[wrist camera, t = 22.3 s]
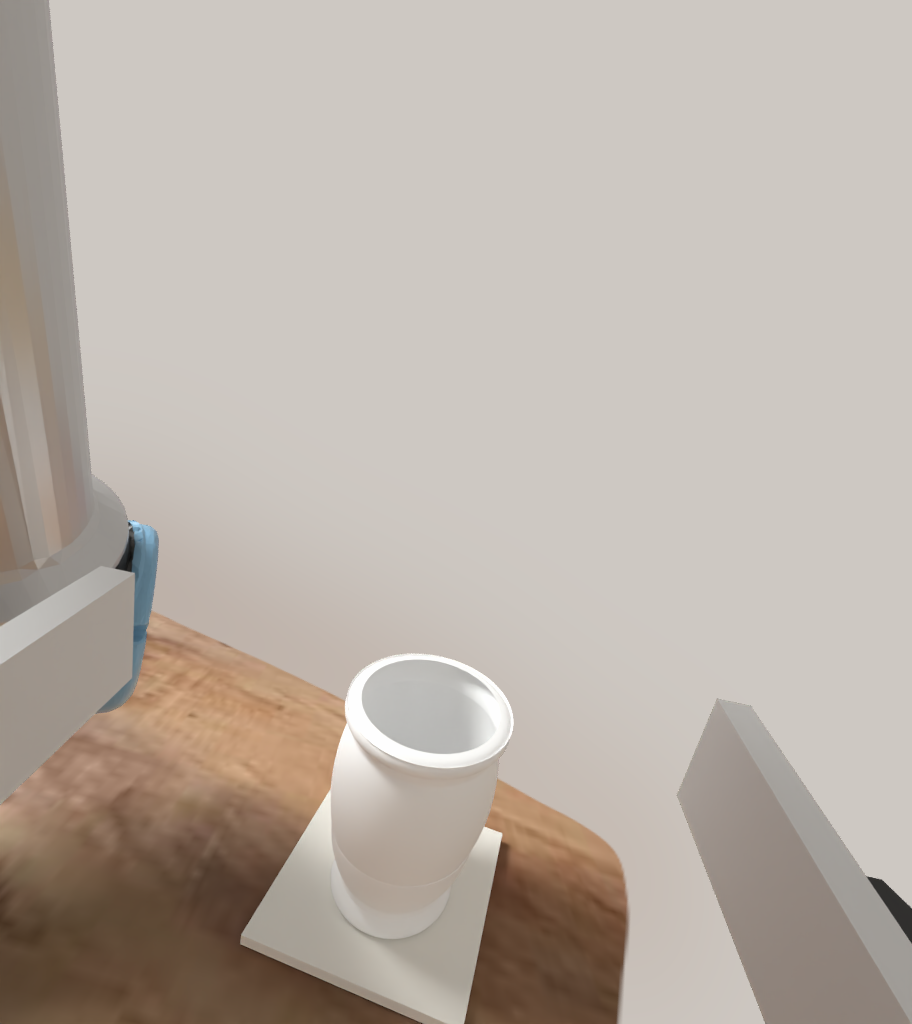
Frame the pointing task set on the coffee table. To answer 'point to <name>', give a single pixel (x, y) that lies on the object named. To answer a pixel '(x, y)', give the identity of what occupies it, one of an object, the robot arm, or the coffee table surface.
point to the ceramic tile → (364, 958)
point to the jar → (412, 788)
